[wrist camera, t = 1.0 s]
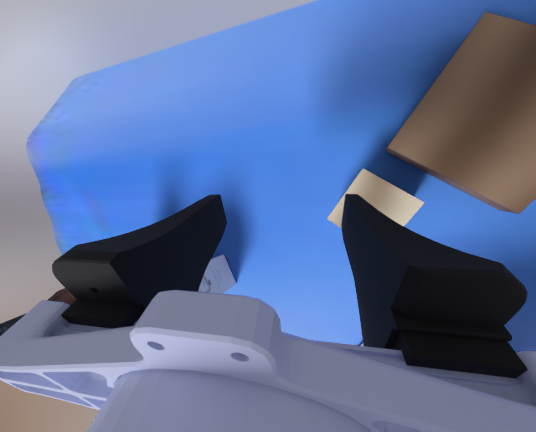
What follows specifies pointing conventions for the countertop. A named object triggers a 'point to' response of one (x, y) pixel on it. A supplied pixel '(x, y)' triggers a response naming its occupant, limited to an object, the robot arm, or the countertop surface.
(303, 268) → the countertop surface
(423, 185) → the countertop surface
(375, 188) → the maple cube
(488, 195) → the walnut block
